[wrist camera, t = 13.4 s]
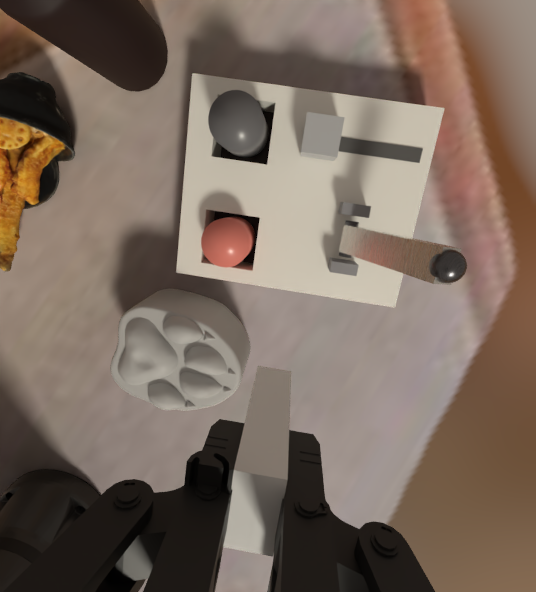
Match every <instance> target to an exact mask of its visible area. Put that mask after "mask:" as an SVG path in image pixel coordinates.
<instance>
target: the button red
mask: <svg viewBox="0 0 536 592" xmlns="http://www.w3.org/2000/svg"><path fill="white" fill-rule="evenodd" d="M255 241H256V235H255V231H254V229H253V227H252V225H251V224H250V223H249V222H248V221H247V220H245V219H244V218H241V217H238V216H231V217H227V218H222V219H218V220H215V221H213V222H212V223H210V224H209V225H208V226H207V227H206V228H205V230H204V232H203V234H202V238H201V247H202V250H203V253H204V255H205V256H206V258H207V259H208V260H209V261H210V262H211V263H213V264H215V265H217V266H219V267H232V266H235V265H237V264H239V263H240V262H241V261H242V260H243V259H244V258H245V257H246V256H247V255H248V254H249V253H250V252H251V250H252V249H253V247H254V245H255Z"/></svg>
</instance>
